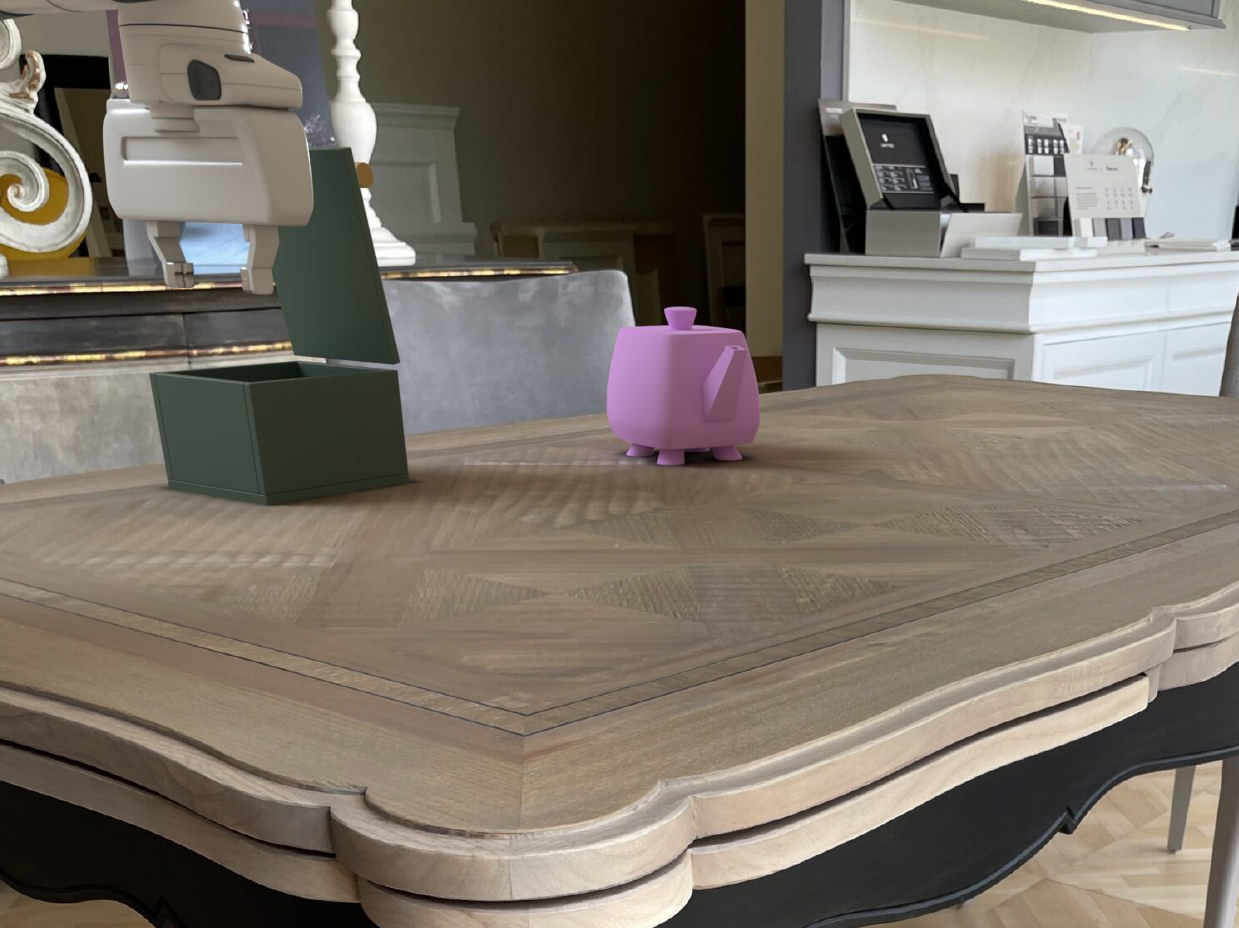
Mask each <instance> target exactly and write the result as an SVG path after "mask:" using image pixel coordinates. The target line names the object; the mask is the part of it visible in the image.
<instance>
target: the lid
mask: <svg viewBox="0 0 1239 928" xmlns="http://www.w3.org/2000/svg"><path fill="white" fill-rule="evenodd" d="M308 151H309V158H310V166H311V175H312V185H313V211H312V214H311V217H310V219H309V222H308V224H307V225H306V226H278V234H279V242H280V243H279V247H278V250H277V254H276V257H275V261H274V264H273V268H271V269H272V278H273V283H274V285H275V289H276V293H277V297H278V300H279V305H280V307H281V312H282V316H283V319H284V323H285V327H286V331H287V335H288V338H289V342H290V345H291V346H290V347H291V349H292V353H293V355H294V356H296V357H297V356H298V357H305V358H316V359H317V358H318V359H326V360H327V359H328V360H338V361H348V362H361V363H370V364H379V365H380V364H381V365H391V366H394V365H397V364H400V363H401V359H400V354H399V350H398V346H397V341H396V336H395V332H394V328H393V324H392V321H391V320H392V319H391V315H390V311H389V306H388V302H387V297H386V293H385V289H384V284H383V281H382V275H381V272H380V267H379V263H378V258H377V253H376V250H375V245H374V241H373V237H372V232H371V227H370V224H369V219H368V215H367V210H366V207H365V206H366V205H365V202H364V197H363V193H362V189H368V188H370V187H371V186H372V185H373V183H374V172H373V169H372V168H371V166H370V165H369V164H368V163H367V162H365V161H355V158H354V154H353V150H352V147H351V146H324V147H323V146H321V147H320V146H319V147H314V146H313V147H309V146H308Z"/></svg>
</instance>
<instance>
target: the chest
mask: <svg viewBox="0 0 1239 928" xmlns="http://www.w3.org/2000/svg"><path fill="white" fill-rule="evenodd" d="M148 376H149V381H150V387H151V392H152V398H153V404H154V409H155V415H156V421H157V427H158V433H159V438H160V444H161V449H162V455H163V461H164V466H165V472H166V473H165V474H166V478H167V485H168V489H169V490H174V491H181V492H187V493H191V494H198V495H204V496H210V497H215V498H220V499H221V498H222V499H227V500H233V501H239V502H246V503H251V504H256V505H264V506H273V505H278V504H284V503H291V502H296V501H303V500H310V499H314V498H316V499H317V498H322V497H328V496H333V495H334V496H335V495H340V494H346V493H352V492H359V491H364V490H365V491H366V490H371V489H377V488H382V487H383V488H384V487H389V486H396V485H402V484H408V483H409V484H410V474H409V465H408V457H407V445H406V437H405V428H404V426H405V425H404V416H403V408H402V399H401V398H402V397H401V389H400V388H401V387H400V379H399V371H398V370H397V369H392V368H391V369H390V368H381V367H369V366H360V365H349V364H338V363H330V362H329V363H327V362H320V361H319V362H317V361H307V360H288V361H276V362H275V361H274V362H263V363H251V364H240V365H239V364H238V365H237V364H236V365H227V366H226V365H225V366H214V367H202V368H190V369H179V370H178V369H177V370H167V371H165V370H164V371H155V372H149V373H148Z"/></svg>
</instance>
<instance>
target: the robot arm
mask: <svg viewBox="0 0 1239 928" xmlns="http://www.w3.org/2000/svg"><path fill="white" fill-rule="evenodd" d="M241 7H242V6H241V2H240V0H0V22H2V21H6V20H12V19H19V18H24V17H30V16H33V15H36V14H80V13H84V12H87V11H88V12H89V11H90V12H91V11H93V12H95V11H114V10H115V11H116V10H118V13H117V24H118V31H119V37H120V38H119V40H120V44H121V51H122V59H123V65H124V71H125V77H126V80H122V81H121V80H120V81H119V82H116V83H115V84H114V86H113V89H112V92H111V93H110V96H109V98H108V99H107V100H106V114H105V116H104V119H103V125H102V141H103V142H102V144H103V159H104V171H105V182H106V191H107V197H108V201H109V204H110V205H111V208H112V209H113V211H114V213H115V215H116V216H117V218H119V219H121V220H141V221H142V220H143V221H145V227H146V235H147V239H148V240H149V242H150V244H151V247H152V248H153V249H154V252H155V254H156V255H157V257H158V260H159V261H160V263H161V265H162V271H163V280H164V283H165V285H166V286H167V287H168V288H171V289H193V288H195V286H196V278H195V275H194V274H195V269H194V268H195V267H194V263H193V262H188V261H187V260H186V257H185V254H184V251H183V249H182V246H181V243H180V241H179V239H178V238H182V229H181V222H184V223H185V222H186V223H207V224H227V225H229V224H230V225H241V226H242V234H243V240H244V242H246V243H249V246H248V252H247V257H246V258H247V260H246V265H245V267H239V273H240V279H241V280H242V281H241V288H242V290H243V292H244V293H245V294H249V295H271V294H273V293H274V279H273V275H272V269H271V268H273V264H274V261H275V257H276V254H277V250H278V247H279V243H280V242H279V234H278V226H306V225H307V224H308V222H309V219H310V217H311V214H312V211H313V185H312V175H311V166H310V158H309V151H308V148H309V145H308V140H307V139H308V138H307V134H306V131H305V128H304V125H303V123H302V120H301V119H300V118H299V116H298V115H297V114H296V113H295V112H294V111H297V110H300V109H301V108H302V106H303V102H304V98H303V87H302V83H301V80H300V78H299V77H298V76H297V75H296V74H294V73H293V72H290V71H288V70H287V69H285V68H282V67H281V66H278V65H277V64H275V63H273V62H271V61H269V60H267V59H265V58H264V57H262V56H260V55H259V54H257V53H255V52H252V51H251V44H250V36H249V29H248V25H247V22H246V21H247V20H246V19H245V16H244V14H243V10H242V8H241ZM117 97H118V98H117Z"/></svg>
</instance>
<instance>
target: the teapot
mask: <svg viewBox="0 0 1239 928" xmlns="http://www.w3.org/2000/svg"><path fill="white" fill-rule="evenodd" d="M663 311H664V315H665V318H666V321H667V323H668V325H645V326H623V327H620V329H619V330H618V332H617V333H618V334H617V337H616V341H615V344H614V350H613V353H612V357H611V362H610V367H609V372H608V380H607V391H606V415H607V420H608V422H609V426H610V429H611V430H612V433H613V434H614V436H615V437H616V438H618V439H619V440H621V441H624V442H628V443H631V445H630V446H629V448H628V450H627V452H626V453H625V455H626V456H628V457H651V456H653V455H654V452H655V449H659V453H658V457H657V461H656V464H657V465H661V466H678V465H679V466H680V465H684V464H685V462H686V461H685V452H687V453H688V452H690V453H706V452H710V448H711V450H712V453H713V457H714V459H715V460H719V461H739V460H742V459H743V457H742V456H741V453H740V452H739V450H738V449H737V447H736V446H741V445H749V444H752V443H753V442H754V440H755V438H756V437H757V435H758V434H757V433H758V431H759V428H760V426H761V425H760V424H761V401H760V393H759V386H758V381H757V375H756V372H755V367H754V363H753V359H752V357H751V354H750V349H749V346H748V342H747V340H746V337H745V333H743V331H741V330H737V329H732V328H726V327H718V326H709V325H699V324H698V325H695V324H694V322H695V320H696V316H697V309H696V308H695V307H691V306H671V307H666V308H664V309H663Z"/></svg>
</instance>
